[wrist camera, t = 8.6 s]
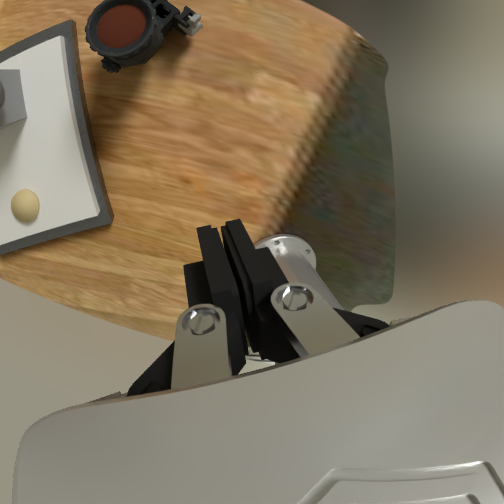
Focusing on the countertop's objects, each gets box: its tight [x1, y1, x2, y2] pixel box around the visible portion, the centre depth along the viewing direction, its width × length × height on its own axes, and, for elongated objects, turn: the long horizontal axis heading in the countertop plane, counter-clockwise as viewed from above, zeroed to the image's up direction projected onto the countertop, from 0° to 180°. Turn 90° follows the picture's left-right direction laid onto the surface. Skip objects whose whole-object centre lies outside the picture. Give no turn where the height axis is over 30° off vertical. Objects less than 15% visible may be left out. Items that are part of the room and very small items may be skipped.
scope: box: [85, 0, 202, 73], centre depth 21 cm, size 8×14×10 cm
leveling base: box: [0, 20, 114, 255], centre depth 27 cm, size 26×20×2 cm
